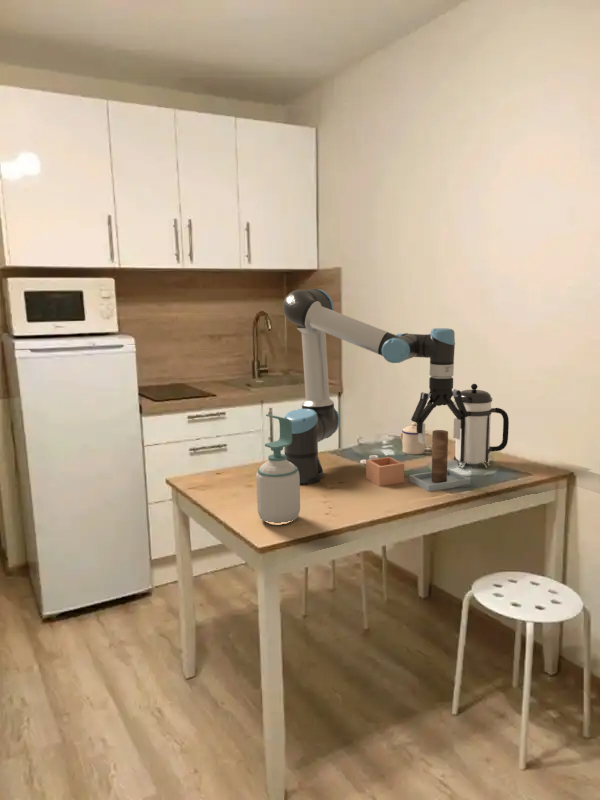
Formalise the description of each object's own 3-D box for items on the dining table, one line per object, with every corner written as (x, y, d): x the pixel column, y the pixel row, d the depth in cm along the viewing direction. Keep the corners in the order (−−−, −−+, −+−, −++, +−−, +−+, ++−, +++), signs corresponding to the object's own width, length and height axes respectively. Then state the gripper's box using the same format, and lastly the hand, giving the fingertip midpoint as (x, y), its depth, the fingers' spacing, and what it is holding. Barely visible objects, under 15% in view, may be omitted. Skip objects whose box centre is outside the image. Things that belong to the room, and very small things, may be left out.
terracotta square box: (379, 487, 201) (379, 467, 200) (365, 479, 210) (365, 459, 208) (403, 483, 205) (404, 463, 203) (390, 475, 213) (390, 456, 212)
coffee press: (477, 473, 214) (480, 389, 208) (442, 463, 226) (444, 383, 221) (508, 464, 224) (511, 383, 218) (472, 454, 236) (475, 378, 231)
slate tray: (428, 493, 195) (428, 485, 194) (408, 482, 206) (408, 475, 206) (470, 486, 201) (470, 479, 200) (448, 475, 212) (449, 469, 211)
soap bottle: (249, 519, 177) (245, 414, 171) (282, 508, 185) (279, 407, 179) (275, 532, 168) (271, 421, 162) (309, 520, 175) (307, 414, 169)
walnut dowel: (437, 484, 200) (438, 434, 197) (428, 480, 204) (429, 430, 201) (449, 482, 202) (451, 432, 198) (441, 478, 206) (442, 429, 203)
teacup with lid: (430, 452, 241) (430, 423, 239) (412, 456, 236) (413, 427, 234) (409, 445, 251) (409, 418, 249) (392, 449, 246) (392, 421, 244)
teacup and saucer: (357, 465, 228) (356, 454, 227) (374, 461, 232) (374, 451, 231) (370, 471, 220) (370, 460, 219) (388, 467, 224) (388, 457, 223)
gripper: (414, 381, 189) (412, 447, 193) (480, 375, 197) (477, 439, 202) (401, 377, 195) (400, 441, 200) (466, 372, 204) (464, 434, 208)
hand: (439, 440), depth 201 cm, fingers open, 13 cm apart
